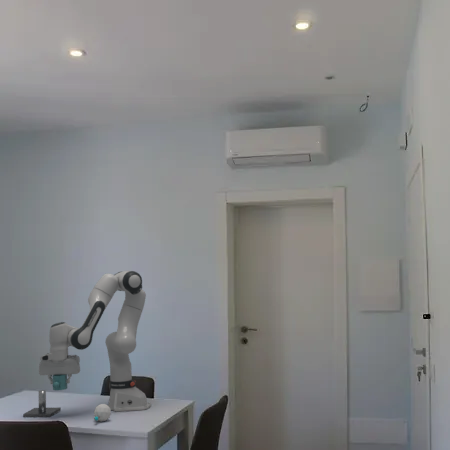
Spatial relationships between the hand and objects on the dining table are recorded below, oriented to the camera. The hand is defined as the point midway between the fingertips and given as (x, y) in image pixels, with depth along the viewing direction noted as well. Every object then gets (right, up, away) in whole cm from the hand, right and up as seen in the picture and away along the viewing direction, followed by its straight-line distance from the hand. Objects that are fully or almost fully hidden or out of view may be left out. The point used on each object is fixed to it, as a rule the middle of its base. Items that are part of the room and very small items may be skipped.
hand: (60, 383), depth 293 cm
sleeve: (0, -3, -2) cm, 3 cm away
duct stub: (-11, -17, +7) cm, 22 cm away
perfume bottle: (+23, -15, -14) cm, 31 cm away
